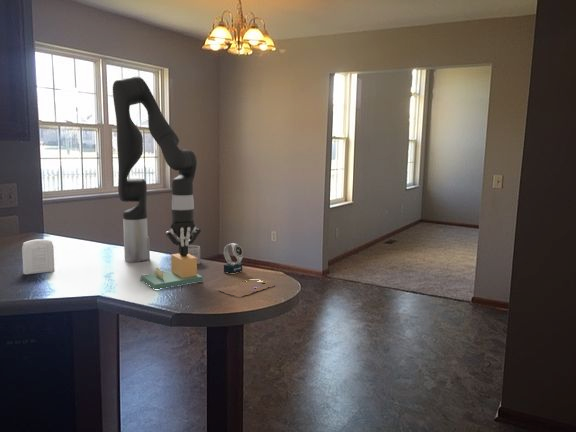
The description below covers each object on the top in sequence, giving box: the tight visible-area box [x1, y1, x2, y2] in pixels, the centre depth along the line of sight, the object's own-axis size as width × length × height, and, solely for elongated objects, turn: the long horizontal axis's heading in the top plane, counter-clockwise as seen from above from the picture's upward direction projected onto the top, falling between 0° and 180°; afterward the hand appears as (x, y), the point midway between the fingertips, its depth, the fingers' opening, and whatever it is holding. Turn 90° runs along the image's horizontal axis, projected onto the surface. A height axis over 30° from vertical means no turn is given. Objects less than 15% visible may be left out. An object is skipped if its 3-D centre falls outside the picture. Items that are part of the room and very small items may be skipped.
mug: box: [188, 244, 201, 265], centre depth 191 cm, size 10×7×7 cm, turn 145°
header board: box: [141, 267, 203, 290], centre depth 167 cm, size 17×13×5 cm
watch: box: [223, 242, 245, 274], centre depth 180 cm, size 6×8×11 cm
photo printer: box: [21, 238, 55, 275], centre depth 175 cm, size 10×4×12 cm, turn 123°
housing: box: [170, 252, 198, 278], centre depth 169 cm, size 6×9×6 cm, turn 36°
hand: (183, 256), depth 169 cm, fingers closed
